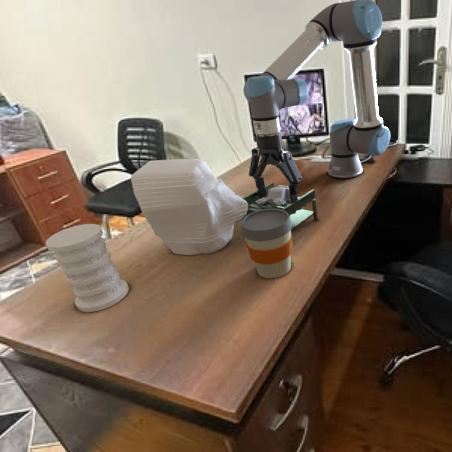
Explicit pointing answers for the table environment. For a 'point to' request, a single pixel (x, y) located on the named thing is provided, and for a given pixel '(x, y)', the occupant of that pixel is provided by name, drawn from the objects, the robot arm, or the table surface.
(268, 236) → the reusable coffee cup
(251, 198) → the rack
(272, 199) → the bunny figurine
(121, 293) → the decorative container
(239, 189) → the table surface
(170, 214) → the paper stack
